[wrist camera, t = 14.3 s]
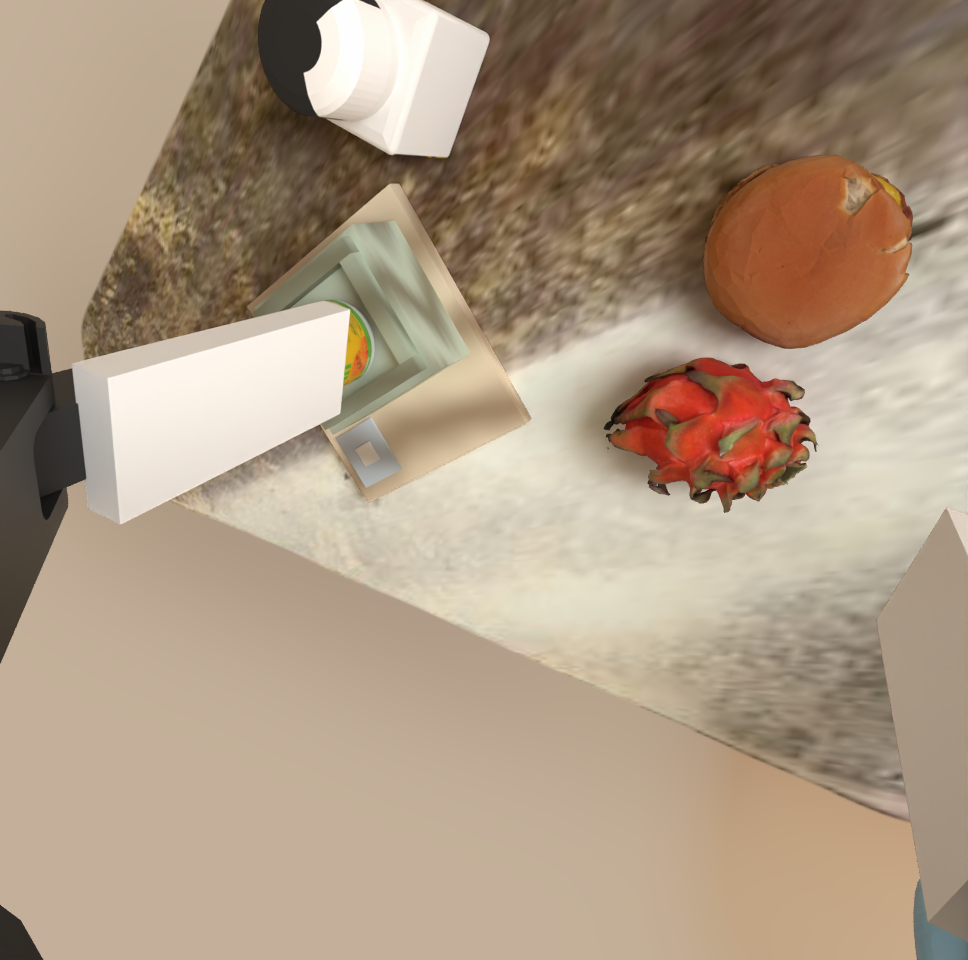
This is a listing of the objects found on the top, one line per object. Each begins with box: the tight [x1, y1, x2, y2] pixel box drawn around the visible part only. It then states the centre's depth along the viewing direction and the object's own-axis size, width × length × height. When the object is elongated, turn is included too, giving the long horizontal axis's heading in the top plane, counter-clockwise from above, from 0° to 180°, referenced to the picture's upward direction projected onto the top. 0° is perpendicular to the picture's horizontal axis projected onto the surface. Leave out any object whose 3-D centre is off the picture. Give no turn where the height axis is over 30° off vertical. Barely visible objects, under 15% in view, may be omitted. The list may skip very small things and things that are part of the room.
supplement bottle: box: [295, 299, 375, 386], centre depth 39 cm, size 5×5×10 cm
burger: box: [701, 155, 913, 349], centre depth 35 cm, size 10×9×5 cm
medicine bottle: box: [258, 0, 490, 158], centre depth 36 cm, size 7×7×12 cm
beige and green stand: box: [247, 184, 531, 503], centre depth 47 cm, size 18×16×7 cm
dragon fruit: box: [604, 358, 818, 513], centre depth 39 cm, size 8×8×12 cm
